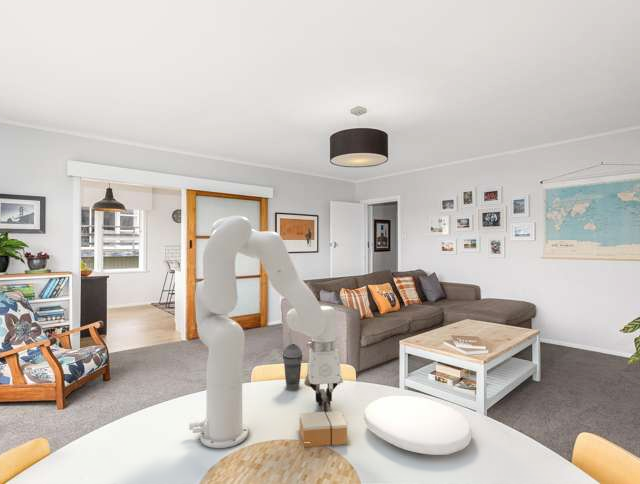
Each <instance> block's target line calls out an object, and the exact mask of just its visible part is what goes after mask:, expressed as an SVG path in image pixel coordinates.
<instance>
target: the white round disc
mask: <svg viewBox="0 0 640 484" xmlns="http://www.w3.org/2000/svg"><path fill="white" fill-rule="evenodd" d="M363 420H364V423H365V425H366V427H367V428H368V430H369V431H370V432H371V433H373V434H374V435H375V436H377V437H379V438H380V439H382V440H383V441H385V442H387V443H389V444H391V445H393V446H395V447H397V448H399V449H403V450H405V451H409V452H413V453H417V454H423V455H431V456H432V455H433V456H442V455H444V456H446V455H448V456H449V455H451V454H454V453H456V452H459V451H462V450H463V449H465V448H466V447H467V446H469V444H470V442H471V440H472V435H473V432H472V428H471V425H470V422H469V421H468V420H467V418H466V416H464V414H462V413H461V412H460V411H457V410H455V409H454V408H452V407H450V406H448V405H446V404H444V403H440V402H438V401H434V400H431V399H427V398H423V397H417V396H412V395H411V396H410V395H390V396H384V397H380V398H378V399H375V400H374V401H372V402H370V404H368V405H367V406H366V407H365V409H364V410H363Z"/></svg>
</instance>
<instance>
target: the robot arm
mask: <svg viewBox="0 0 640 484" xmlns="http://www.w3.org/2000/svg"><path fill="white" fill-rule="evenodd" d="M210 231H211V232H210V233H211V235H210V236H209V238H208V240H207V242H206V244H205V246H204V251H203V255H202V275H203V277H202V278H203V280H201V281H200V282H199V283H198V285H197V286H196V289H195V291H194V292H195V293H194V309H195V320H196V331H197V335H198V338H199V340H200V341H201V343H203V345H205V346H206V347H207V348H208V355H207V361H206V370H205V371H206V373H205V374H206V376H205V377H206V378H205V379H206V416H205V419H201V420H200V421H197V420H196V421H190V422H189V425H188V427H189V430H190V431H192V434H197V433H200V436H199V439H200V442H201V443H202V445H204V446H206V447H209V448H213V449H227V448H230V447H234V446H236V445H239V444H240V443H242V442H244V441H245V440H246V439H247V438H248V435H249V428H248V426H247V425H246V424H245V423H243V361H244V360H243V359H244V353H245V352H244V351H245V347H246V346H245V345H246V344H245V343H246V335H245V331H244V329H243V327H242V326H241V325H240V324H239V323H238V322H237V321H236V320H234V319H232V318H230V317H229V314H231V312H233V311H234V310H235V308H236V307H237V305H238V299H239V298H238V297H239V295H238V287H237V276H236V259H237V254H241V255H244V256H245V257H246V256H247V257H250V258H252V259H257V260H259V261H260V263H261V265H262V267H263V270H264V271H265V274H266V276H267V278H268V280H269V282H270V285H271V287H272V288H273V289H274V291H276V292H277V293H278V294H279V295H280V296H282V297H283V298H284V299H285V300H287V302H288V303H289V304H290V305H291V306H292V308H291V309H290V310H289V311H288V312H287V314H286V317H285V323H286V325H287V327H288V328H289V329H291V330H293V331H295V332H296V333H299V334H302V335H305V336H307V337H310V338H311V339H310V341H309V342H306V345H307V348H308V347H309V348H310V349H309V353H308V359H307V360H308V361H307V374H306V376H305V379H304V381H303V383H304V385H305V386H307V387H309V388H311V389H312V390H313V391H314V392H315V403H317V405H318V406H319V407H321V392H320V389H321V385H327V387H326V389H325V392H326V394H327V396H328V398H329V400H330V402H332V401H333V392H334V390H335V389H336V388H337V386H339V385H341V384H343V383H344V379H343V378H342V374H341V372H342V371H341V361H340V355H339V349H337V348H336V310H335V308H334V307H333V306H330V305H320V302H319V301H318V299H317V297H316V295H315V294H314V293H313V292H312V290H311V289H310V287H309V286H308V285H307V284H306V282H305V281H304V280H303V279H302V277H301V276H300V275H299V273H298V271H297V268H296V267H295V264H294V262H293V260H292V258H291V256H290V253H289V251H288V249H287V246H286V243H285V242H284V239H283V238H282V236H281V235H280V234H279V233H278V232H276V231H270V230H265V231H259V230H256V229H253V225H252V223H251V221H250V220H249V219H248V218H247V217H245V216H243V215H237V214H236V215H229V216H226V217H221V218H219V219H217V220H216V221H215V222H214V223H213V225H212V226H211V230H210Z"/></svg>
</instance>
